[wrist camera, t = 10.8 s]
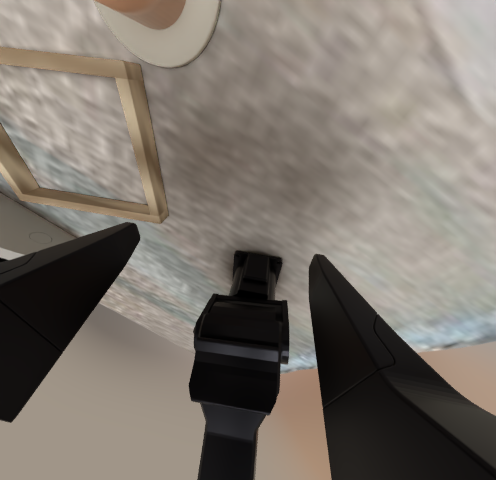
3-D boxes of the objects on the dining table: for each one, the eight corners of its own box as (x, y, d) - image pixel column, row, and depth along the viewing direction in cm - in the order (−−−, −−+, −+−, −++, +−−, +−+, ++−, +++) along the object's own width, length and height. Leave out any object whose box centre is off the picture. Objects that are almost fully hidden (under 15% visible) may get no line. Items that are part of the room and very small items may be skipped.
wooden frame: (168, 215, 24) (160, 223, 22) (37, 193, 25) (20, 200, 23) (140, 64, 15) (123, 60, 14) (-60, 41, 16) (-97, 35, 15)
